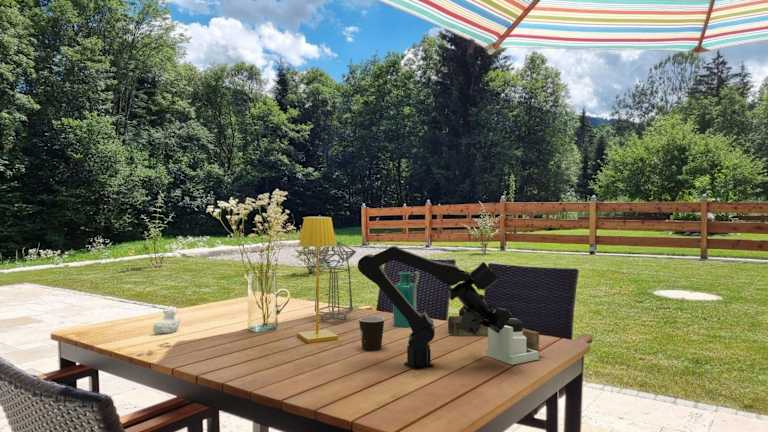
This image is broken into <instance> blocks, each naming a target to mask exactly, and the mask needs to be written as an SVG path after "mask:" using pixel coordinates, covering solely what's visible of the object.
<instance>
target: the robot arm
mask: <svg viewBox="0 0 768 432" xmlns="http://www.w3.org/2000/svg"><path fill="white" fill-rule="evenodd" d="M391 261H396V262H399V263H401V264H403V265H406V266H409V267H411V268H414V269H418V270H420V271H423V272H424V273H427V274H429V275H431V276H433V277H435V278H436V279H437V280H439V281H441V282H442V283H444V284H446V285H448V286H454V287H449V288H448V292H447V296H448V298H449V299H450V301H454V300H455V299H457V298H458V301H460V302H461V304H462V307H461V308H460V309H459V311H458V316H460V317H461V318H462V319H461V322H460V325H459V329H460V330H462V331H465V332H467V333H470V334H473V335H475V334H476V332H478V331H479V329H480V326H481V325H483V326H486V327H489V328H490V329H492V330H493V331H495V332H496V333H499V332H500V330H502V329H503V327H504V326H505V325H506V323H507V322H508V320H509V319H511V317H512V312H510V310H509V309H505V308H501V307H497V308H496V309H495V308H493V305H492V304H491V303H487V302H486V301H485V298H486V297H485V296H484V294H480V293H479V292H478V291H482V290H483V291H485V290H487V289H488V288H489V287H491V286H492V285H493V284H495V283H496V282H497V281H498V280H499V278H498V277H497V275H496V274H495V272H494V271H493V270H492V269H491V268H489V266H488V265H487V264H486V263H485V262H484V261H482V262H481V263H479V264H478V266H477V267H476V268H474V269H473V270H471V271H470V272H469V271H468V270H463V269H460V268H459V267H458V266H457V265H456V264H453V263H447V262H442V261H435V260H431V259H430V258H426V257H424V256H420V255H418V254H415V253H413V252H410V251H407V250H405V249H402V248H400V247H398V246H397V245H393V246H392V245H391V246H389V247H388V248H387V249H385V250H383V251H380V252H378V253H375V254H371V253H369V254H368V253H367V254H366V255H363V256H362V257H361V258H360V259H359V260H358V262H357V269H358V271H359V272H360V273H361V274H362V275H363V276H365V278H366V279H368V280H369V281H371V282H373V283H374V284H375V285H376V286H377V287H378V288H379V289H380V291H382V293H383V294H384V295H385V296H386V298H388V299H389V301H390V302H391V303H392V304H394V305H395V307H396V308H397V309H398V310H399V311H400V313H401V314H402V315H403V316H404V317H405V318H406V320H407V321H408V323H409V326H410V329H411V331H412V332H411V333H410V334H409V337H408V342H407V343H408V345H406V346H407V349H406V352H407V354H406V357H407V358H406V362H404V363H403V365H405V366H407V367H409V368H411V369H414V370H423V369H425V368H426V369H427V368H431V367H434V364H433V363H431V358H432V357H431V355H432V354H431V353H432V352H431V348H430V347H431V345H430V344H429V343H431V342H432V341H433V339H434V338H435V325H434V320H433V319H431V317H430V316H429V315H428V313H427V312H426V311H423V312H422V313H421V312H419V311H418V310H417V309H416V310H415V308H414V307H413V306H412V305H411V304H410V302H409V301H408V300H407V299H406V298H405V297H404V295H403V294H402V293H401V292H400V291H399V290H398V288H397V287H396V286H395V285H396V284H394V282H393V281H392V280H391V279H390V278H389V276H388V275H387V274H386V271H385V268H384V267H383V265H386V264H387V263H390V262H391ZM473 285H474V286H475V287H474V286H473ZM477 290H478V291H477Z"/></svg>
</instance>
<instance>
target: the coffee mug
mask: <svg viewBox="0 0 768 432" xmlns="http://www.w3.org/2000/svg"><path fill="white" fill-rule="evenodd" d="M358 321H359V332H360V341H361V347H362V350H363V351H366V352H377V351H378V352H379V351H380V350H382V345H383V344H382V342H383V334H384V326H385V318H384V317H379V316H378V317H377V316H363V317H361V318H359V319H358Z"/></svg>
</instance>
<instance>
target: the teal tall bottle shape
mask: <svg viewBox="0 0 768 432" xmlns="http://www.w3.org/2000/svg"><path fill="white" fill-rule="evenodd" d="M398 275H400V280H399V282H398V283H396V284H394V285H395V286H396V287H397V288H398V290H399V291H400V292H401V293H402V294H403V295H404V297H405V298H406V299H407V300H408V301H409V302H410V304H411V305H412V306H413V307H414V308H415V310H417V284H418V283H419V279H420V271H415V272H413V273H412V272H410V271H401V272H398ZM414 275H415V277H414V279H415V280H414V282H410V277H412V276H414ZM392 304H393V303H392ZM392 306H393V310H392V312H393V313H392V315H393V317H392V319H393V322H392V323H393V326H394V327H395V328H396V327H397V328H408V327H410V326H409V323H408V321H407V320H406V318H405V317H404V316H403V315H402V314H401V313H400V311H399V310H398V309H397V308H396V307H395V305H394V304H393V305H392Z"/></svg>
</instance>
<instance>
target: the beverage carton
mask: <svg viewBox="0 0 768 432" xmlns="http://www.w3.org/2000/svg"><path fill="white" fill-rule="evenodd" d="M461 319H462V318H461V317H460V316H459V315H456V316H455V315H451V316H450V315H449V316H448V318H447V330H448V334H449V335H450V337H488V327H486V326H483V325H481V326H480V329H479V331H478V332H476V334H475V335H473V334H470V333H467V332H465V331H462V330H460V329H459V325H460V322H461Z"/></svg>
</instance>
